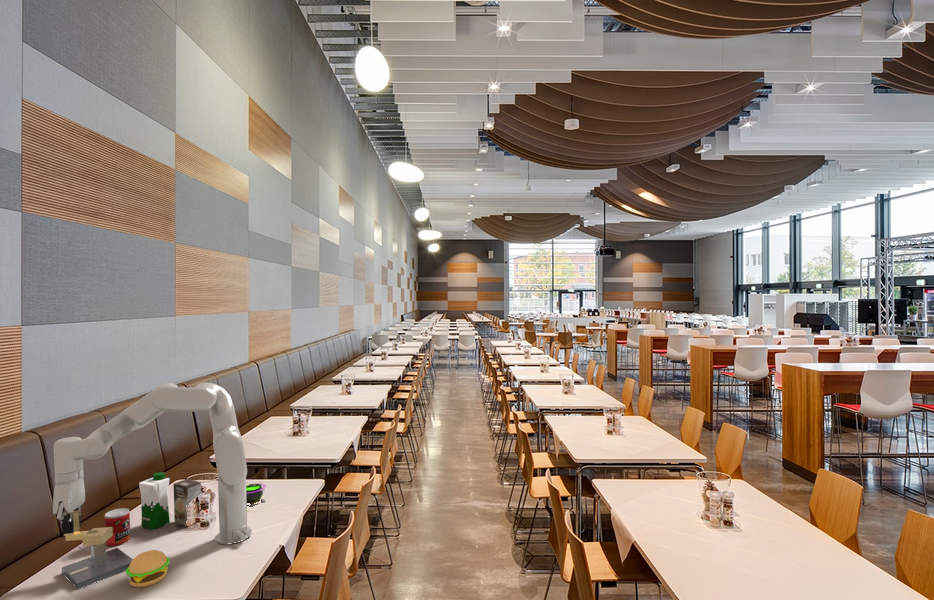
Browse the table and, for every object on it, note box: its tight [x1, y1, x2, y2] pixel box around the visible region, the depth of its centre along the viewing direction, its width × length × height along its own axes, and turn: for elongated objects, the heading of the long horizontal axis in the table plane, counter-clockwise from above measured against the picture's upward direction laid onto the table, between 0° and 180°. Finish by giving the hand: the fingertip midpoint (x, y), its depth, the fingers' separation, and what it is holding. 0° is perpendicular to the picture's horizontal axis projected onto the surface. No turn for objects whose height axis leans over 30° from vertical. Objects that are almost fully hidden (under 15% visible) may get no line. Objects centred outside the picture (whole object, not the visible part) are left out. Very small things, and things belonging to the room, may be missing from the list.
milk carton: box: [138, 471, 171, 531], centre depth 204 cm, size 9×9×20 cm
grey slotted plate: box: [61, 542, 134, 590], centre depth 171 cm, size 16×16×9 cm
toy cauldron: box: [246, 476, 267, 507], centre depth 223 cm, size 15×15×11 cm
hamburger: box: [125, 549, 170, 588], centre depth 165 cm, size 12×12×9 cm
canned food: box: [104, 507, 131, 547], centre depth 191 cm, size 8×8×11 cm
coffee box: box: [173, 478, 202, 526], centre depth 206 cm, size 9×6×16 cm
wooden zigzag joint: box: [63, 510, 113, 547], centre depth 170 cm, size 12×6×10 cm, turn 97°
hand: (71, 529), depth 170 cm, fingers closed on wooden zigzag joint, 3 cm apart
